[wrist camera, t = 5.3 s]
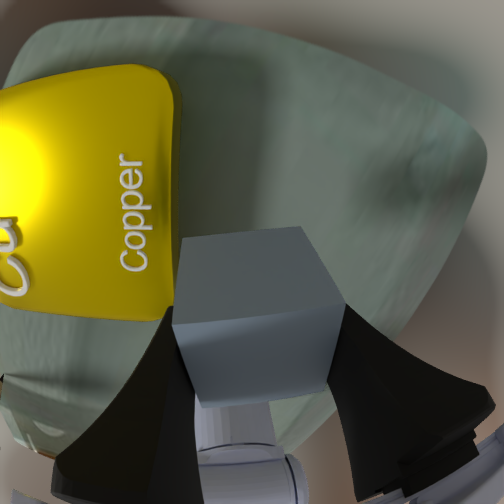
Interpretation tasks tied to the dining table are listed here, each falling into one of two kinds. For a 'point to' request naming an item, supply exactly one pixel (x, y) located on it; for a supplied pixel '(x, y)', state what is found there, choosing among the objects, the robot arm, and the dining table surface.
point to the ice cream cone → (0, 381)
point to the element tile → (91, 193)
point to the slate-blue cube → (255, 316)
